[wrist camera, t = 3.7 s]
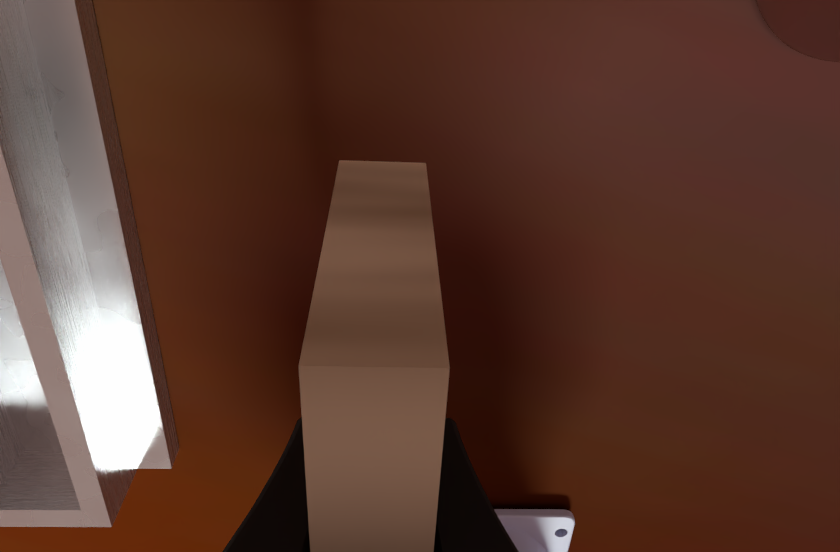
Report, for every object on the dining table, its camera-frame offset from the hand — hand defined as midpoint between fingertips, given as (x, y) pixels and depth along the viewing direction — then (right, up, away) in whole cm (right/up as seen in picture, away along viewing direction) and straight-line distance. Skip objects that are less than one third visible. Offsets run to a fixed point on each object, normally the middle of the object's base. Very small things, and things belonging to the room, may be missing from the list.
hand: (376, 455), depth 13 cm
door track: (-11, +5, +7) cm, 14 cm away
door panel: (0, +1, +2) cm, 2 cm away
